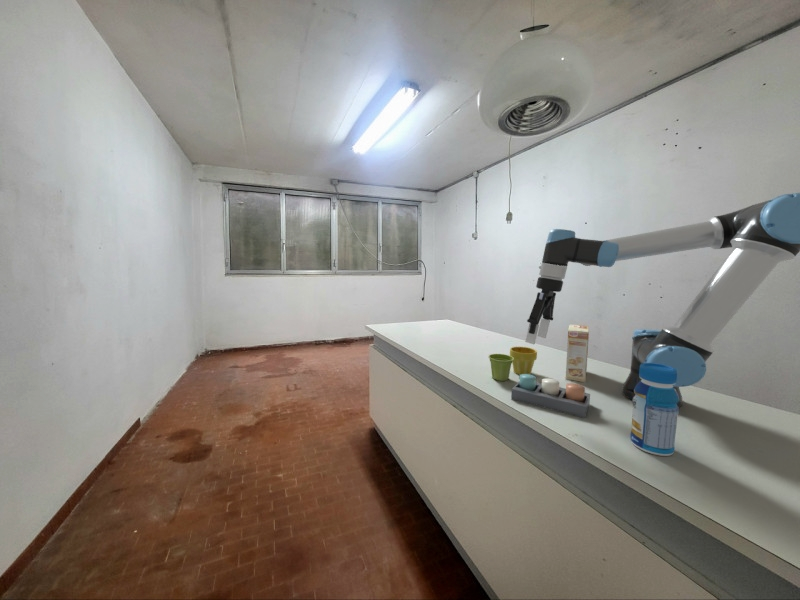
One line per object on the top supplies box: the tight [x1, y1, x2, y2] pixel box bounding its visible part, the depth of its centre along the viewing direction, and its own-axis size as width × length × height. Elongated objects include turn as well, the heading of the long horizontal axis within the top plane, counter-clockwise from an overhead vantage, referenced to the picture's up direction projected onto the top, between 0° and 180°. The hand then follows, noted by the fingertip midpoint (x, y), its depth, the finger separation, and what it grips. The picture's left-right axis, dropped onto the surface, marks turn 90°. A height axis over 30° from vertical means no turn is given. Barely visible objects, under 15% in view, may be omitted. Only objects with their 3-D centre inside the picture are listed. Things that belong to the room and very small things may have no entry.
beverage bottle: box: [629, 363, 680, 457], centre depth 71 cm, size 8×8×20 cm
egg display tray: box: [510, 380, 591, 419], centre depth 97 cm, size 21×11×4 cm, turn 52°
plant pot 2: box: [509, 346, 538, 376], centre depth 124 cm, size 10×10×10 cm
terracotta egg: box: [565, 382, 586, 403], centre depth 92 cm, size 5×5×4 cm
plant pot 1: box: [488, 353, 514, 382], centre depth 118 cm, size 9×9×9 cm
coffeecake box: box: [564, 323, 590, 383], centre depth 120 cm, size 15×7×20 cm, turn 148°
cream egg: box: [541, 378, 560, 397], centre depth 97 cm, size 5×5×4 cm
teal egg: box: [519, 374, 537, 391], centre depth 101 cm, size 5×5×4 cm
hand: (535, 339), depth 101 cm, fingers open, 13 cm apart
